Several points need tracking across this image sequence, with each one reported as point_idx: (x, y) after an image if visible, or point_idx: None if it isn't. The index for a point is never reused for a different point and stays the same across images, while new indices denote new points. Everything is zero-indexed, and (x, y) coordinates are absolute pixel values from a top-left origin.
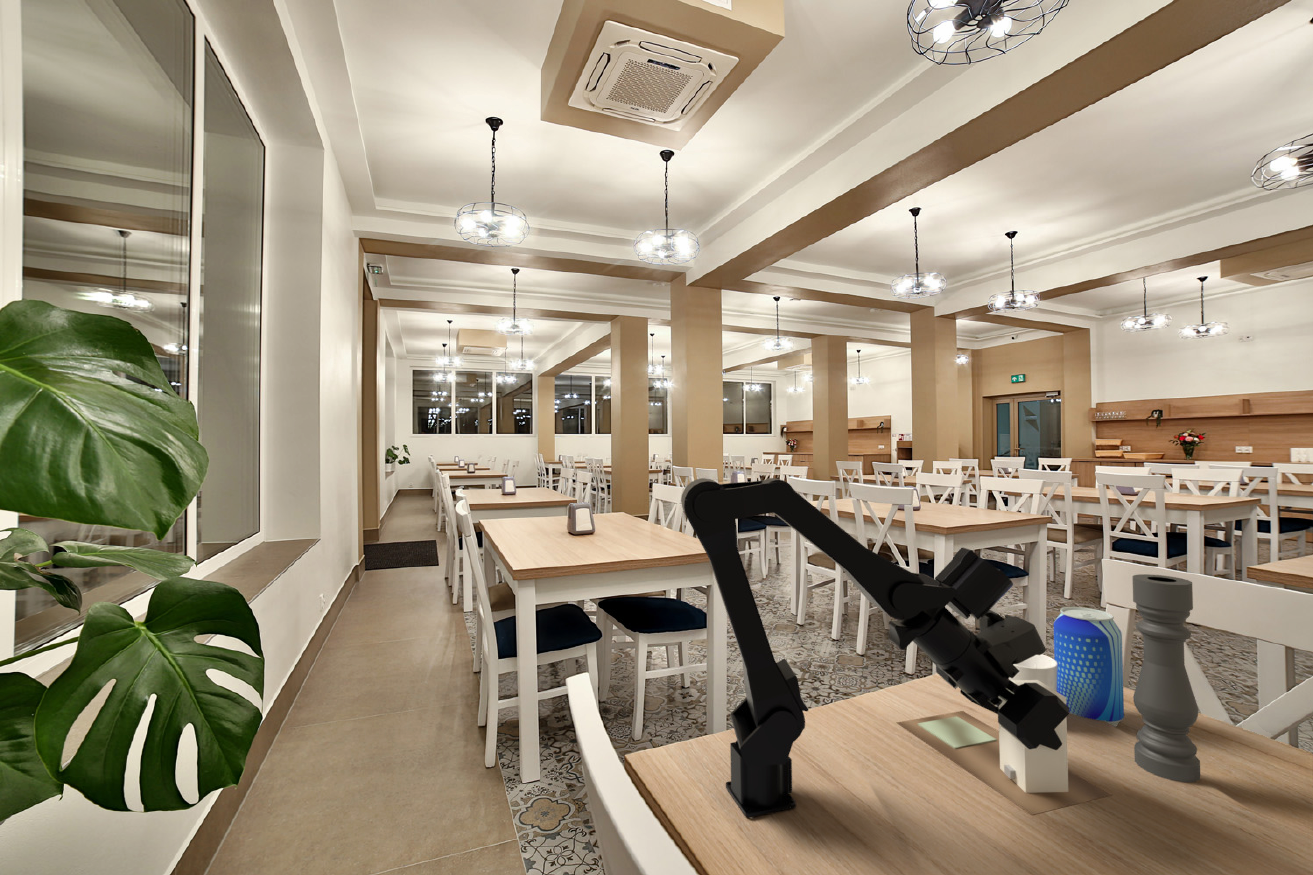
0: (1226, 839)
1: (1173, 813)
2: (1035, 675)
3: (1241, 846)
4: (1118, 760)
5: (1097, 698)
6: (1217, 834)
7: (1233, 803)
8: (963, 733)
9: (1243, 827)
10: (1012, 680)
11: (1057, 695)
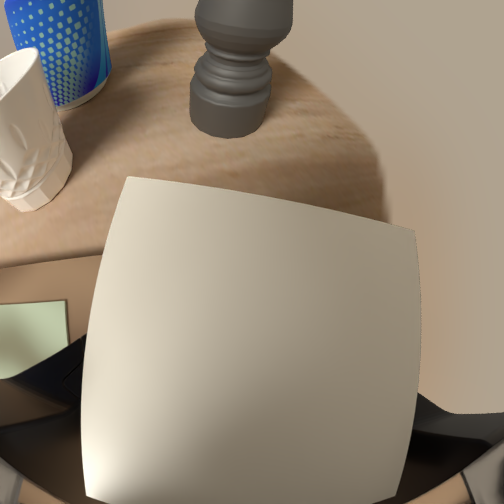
0: (348, 168)
1: (299, 172)
2: (16, 103)
3: (358, 167)
4: (166, 125)
5: (90, 60)
6: (340, 167)
7: (282, 100)
8: (34, 354)
9: (326, 132)
10: (84, 393)
11: (394, 257)
